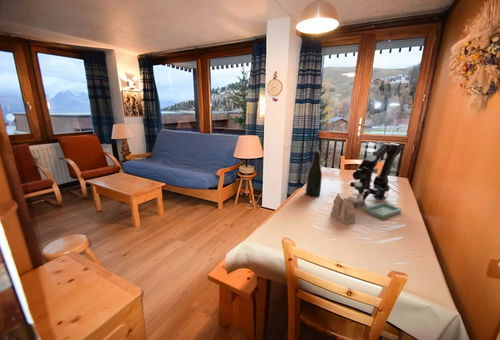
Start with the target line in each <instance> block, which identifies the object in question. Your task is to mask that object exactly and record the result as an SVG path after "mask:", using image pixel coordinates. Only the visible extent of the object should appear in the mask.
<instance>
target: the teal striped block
mask: <svg viewBox="0 0 500 340" xmlns="http://www.w3.org/2000/svg"><path fill="white" fill-rule="evenodd" d="M363 198H364V193H360V194H359V193H351V194H349V200H350V201H353V202H355V203H357V202H360V201H363V203H364V202H366V199H365V200H363Z"/></svg>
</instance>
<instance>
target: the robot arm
mask: <svg viewBox="0 0 500 340" xmlns="http://www.w3.org/2000/svg"><path fill="white" fill-rule="evenodd" d="M402 150H403V146H402V145H401V144H399V143H392V142H389V143H387V142H383V143H382V145H381V146H380V147H379V148H378V149H377V150H376V151H375V152H374V153H372V154H371V155H370V156H367V157H366V158H364V159H363V160H362V161H361V163H360V165H359V166H358V167H357V169H356V170H355V171H353V173H352V178H353V179H354V180H355V181H352V182H350V183H349V186H350V187H352V188H354V190H356V191H357V192H358V194H360V193H364V198H363V200H365V201H366V199H367V198H368V196H369V195H370V194H371V195H372V197H374V198H376V199H379V200H384V199H387V196H385V195H386V192H389V191H390V189H391V188H390V186H389V178H388V176H389V174H390V171H391V169H392V166H393V164H394V162H395V161H394V160H395V159H396V157H397V156H398V155H400V153H401V151H402ZM385 155H386V157H385V159H384V161H383V165H382V168H381V170H380V173H379V175H376V176H375V177H374V179H372V176H373V173H374V172H375V167H376V166H377V165H378V161H380V159H381V158H383V157H384V156H385ZM372 181H373V182H372ZM371 182H372V183H373V188H371V187H372V184H371Z"/></svg>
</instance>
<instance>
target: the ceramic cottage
mask: <svg viewBox="0 0 500 340" xmlns="http://www.w3.org/2000/svg"><path fill="white" fill-rule="evenodd" d="M344 199H345V198H342V197H341V195H340V193H338V192H337V195H336V196H335V198H334V200H333V206H332V207H331V208H332V209H331V212H330V217H331V218H332V219H334V220H335V221H337V222H339V223H340V224H341V225H346V226H352V225H354V224H356V211H355V208H354V205H353V203H352V202H347V199H345V201H344Z"/></svg>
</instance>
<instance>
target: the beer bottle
mask: <svg viewBox="0 0 500 340" xmlns="http://www.w3.org/2000/svg"><path fill="white" fill-rule="evenodd" d="M320 157H321V152H320V150H318V149H316V150H314V152H313V158H312V161H311V165H310V166H309V169H308V171H307V176H306V184H305V194H306V195H307V196H309V197H312V198H313V197H315V198H316V197H320V195H321V191H322V182H323V181H322V180H323V179H322V177H323V171H322V169H321V163H320Z"/></svg>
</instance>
